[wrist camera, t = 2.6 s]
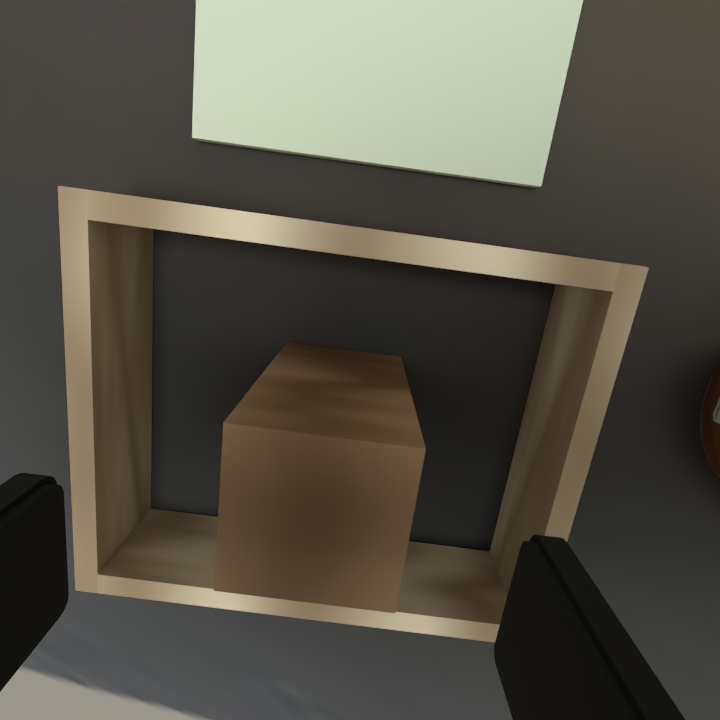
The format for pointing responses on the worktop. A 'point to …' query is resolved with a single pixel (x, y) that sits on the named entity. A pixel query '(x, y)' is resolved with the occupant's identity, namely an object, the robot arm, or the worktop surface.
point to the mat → (387, 81)
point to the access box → (199, 532)
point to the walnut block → (320, 480)
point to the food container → (712, 421)
